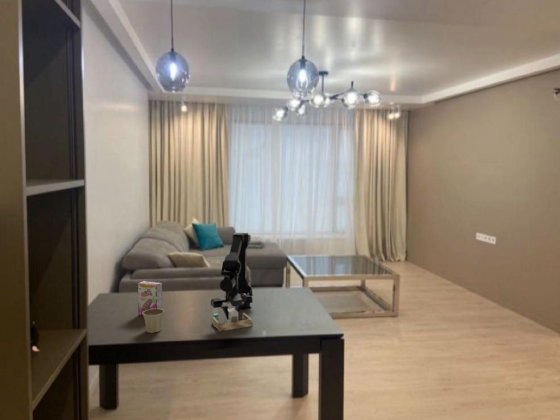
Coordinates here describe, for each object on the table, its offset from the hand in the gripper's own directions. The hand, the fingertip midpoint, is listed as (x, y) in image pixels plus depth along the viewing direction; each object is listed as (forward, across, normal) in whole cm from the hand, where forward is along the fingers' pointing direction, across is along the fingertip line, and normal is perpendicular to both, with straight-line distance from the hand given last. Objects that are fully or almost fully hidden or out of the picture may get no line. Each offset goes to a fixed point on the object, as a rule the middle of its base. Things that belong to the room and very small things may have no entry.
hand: (231, 318), depth 200 cm
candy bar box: (+3, -32, +30) cm, 44 cm away
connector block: (+1, 0, 0) cm, 1 cm away
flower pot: (+3, -34, +8) cm, 35 cm away
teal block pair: (+3, 0, +9) cm, 9 cm away
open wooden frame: (+3, 0, 0) cm, 3 cm away
